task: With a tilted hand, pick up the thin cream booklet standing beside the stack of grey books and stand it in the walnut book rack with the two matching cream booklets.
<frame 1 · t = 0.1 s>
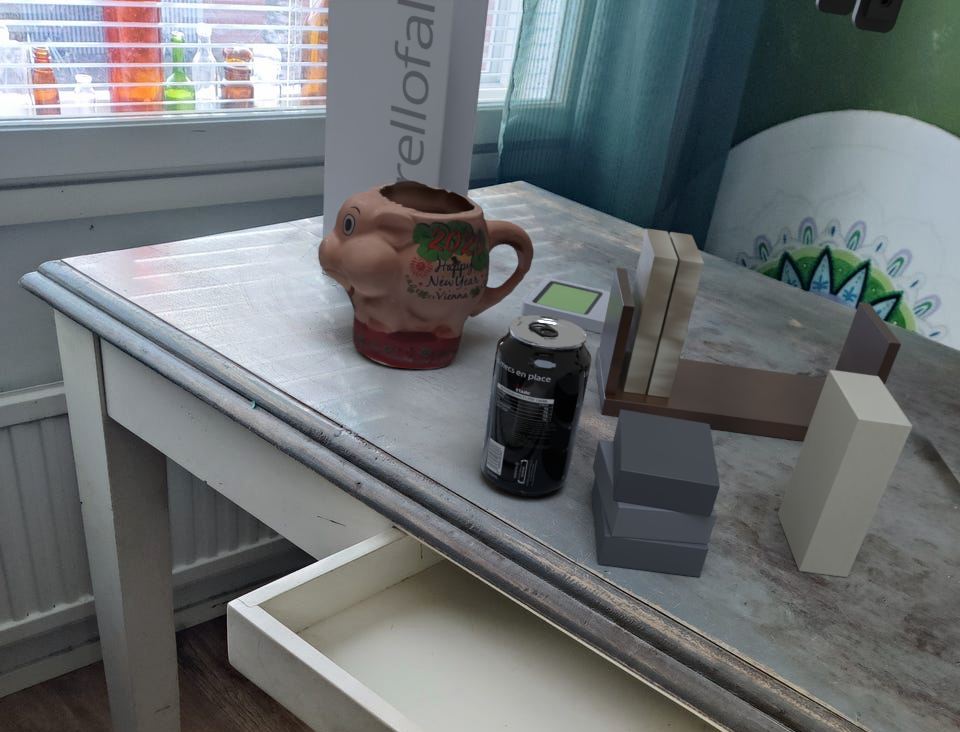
hand: (850, 21, 57), 32 cm above the table, tool pointing down, fingers open, 8 cm apart
handheld gaming console: (597, 317, 108), on the table
beverage can: (521, 482, 77), on the table
book rack: (723, 403, 93), on the table
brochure: (388, 288, 107), on the table
pig-shaped ceramic mug: (420, 351, 94), on the table
grey books: (642, 533, 72), on the table
cream booklet: (810, 544, 74), on the table
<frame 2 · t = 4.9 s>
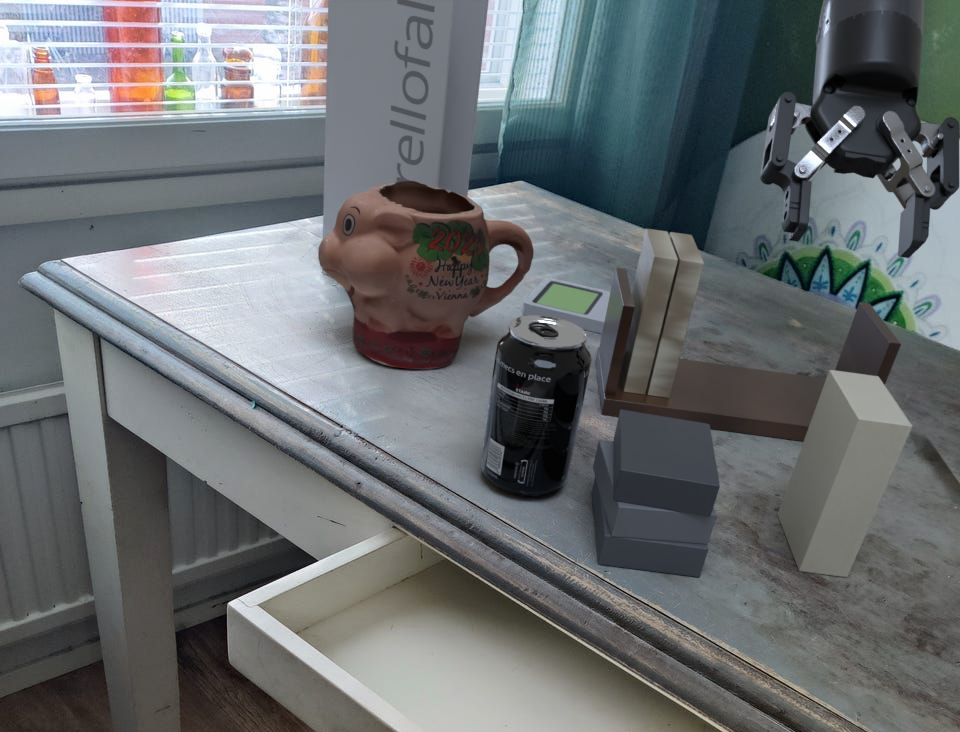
hand: (853, 244, 73), 18 cm above the table, tool tilted 45°, fingers open, 8 cm apart
nothing on the table moved.
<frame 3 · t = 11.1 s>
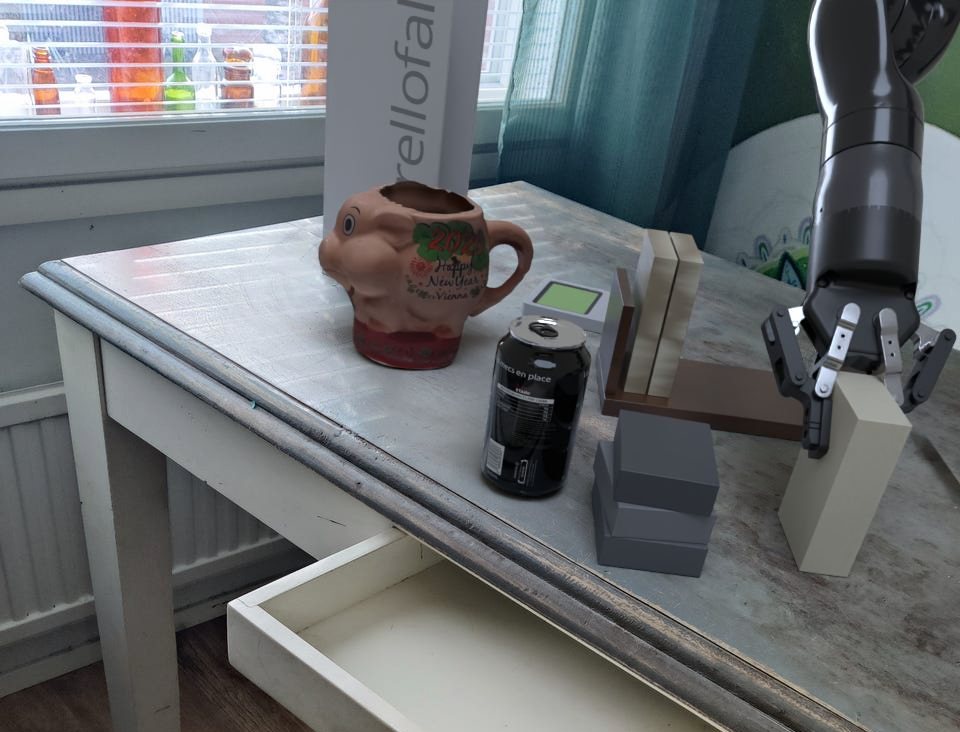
hand: (848, 458, 69), 8 cm above the table, tool tilted 45°, fingers closed on cream booklet, 3 cm apart
cream booklet: (810, 544, 74), on the table, touching gripper
everything else where it was.
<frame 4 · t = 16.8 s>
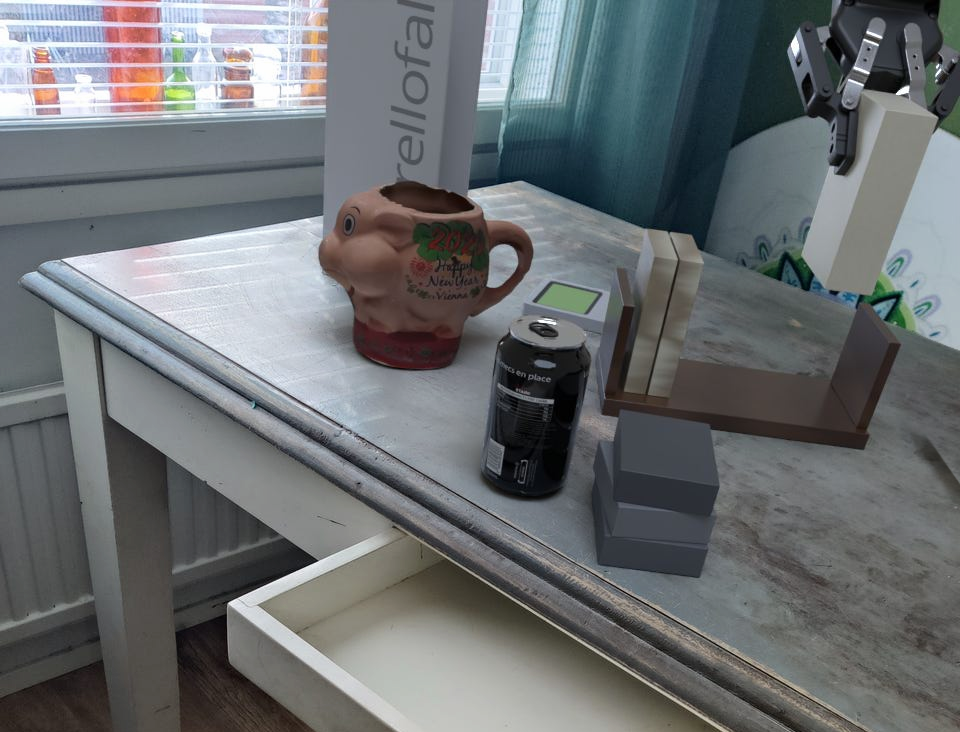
hand: (873, 172, 71), 23 cm above the table, tool tilted 45°, fingers closed on cream booklet, 3 cm apart
cream booklet: (834, 275, 76), point 16 cm above the table, touching gripper
everything else where it was.
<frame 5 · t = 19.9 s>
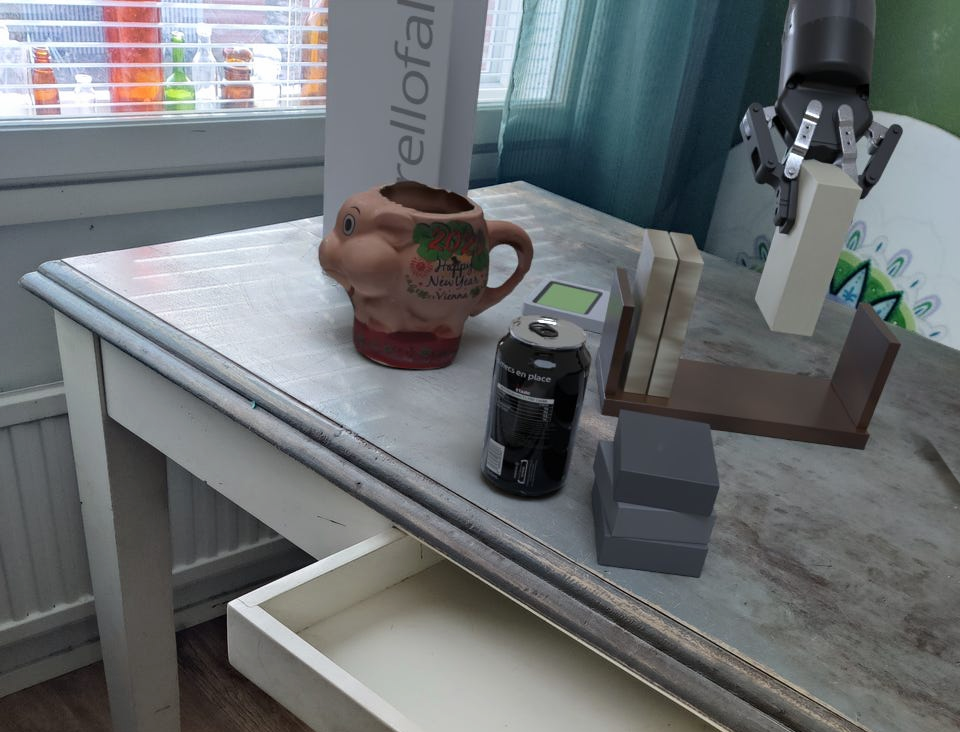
hand: (811, 232, 83), 16 cm above the table, tool tilted 45°, fingers closed on cream booklet, 3 cm apart
cream booklet: (782, 317, 88), point 9 cm above the table, touching gripper
everything else where it was.
when the fingers open (9 cm above the table, at t = 22.3 s): cream booklet stays where it is, resting on book rack.
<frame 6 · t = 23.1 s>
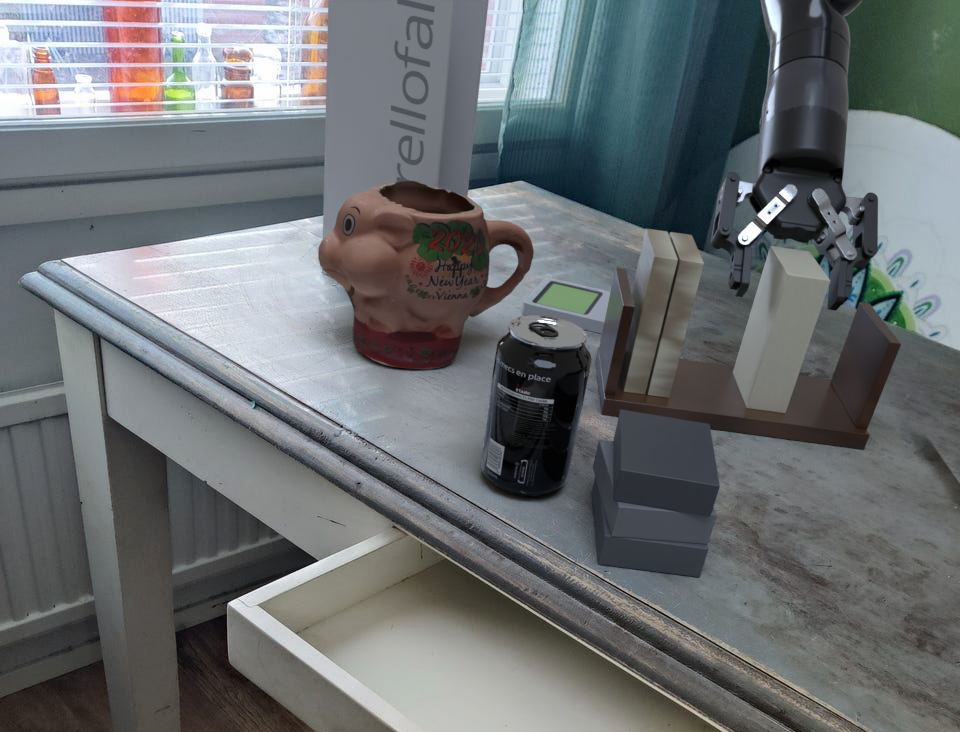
hand: (788, 299, 87), 10 cm above the table, tool tilted 45°, fingers open, 8 cm apart
cream booklet: (758, 392, 92), point 1 cm above the table, touching book rack
everything else where it was.
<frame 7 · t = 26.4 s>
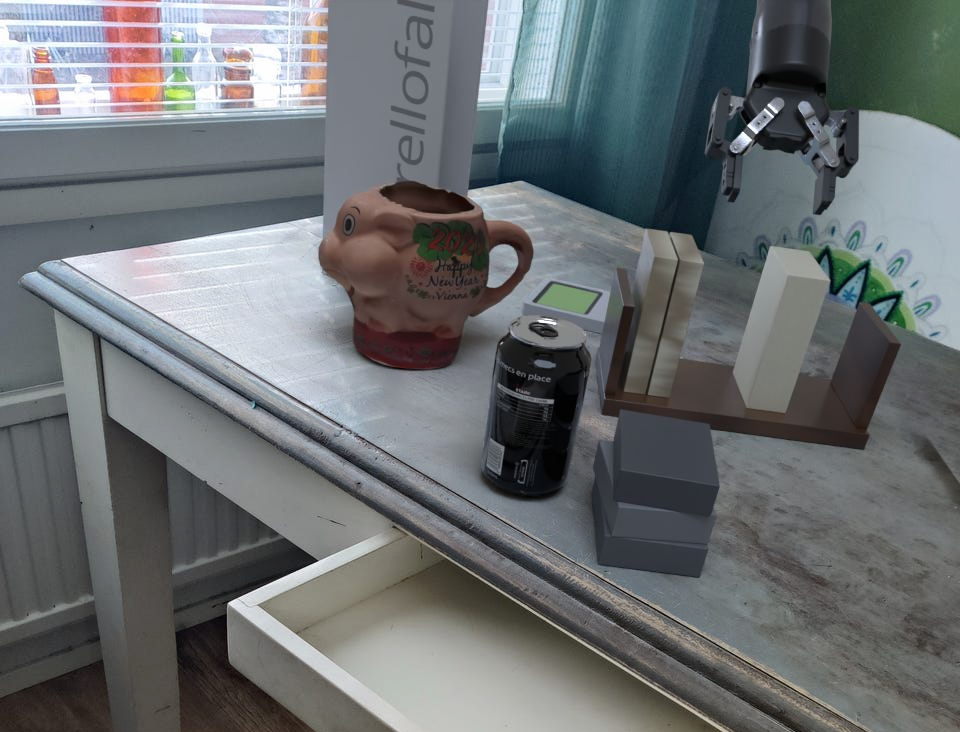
hand: (776, 204, 94), 15 cm above the table, tool tilted 45°, fingers open, 8 cm apart
nothing on the table moved.
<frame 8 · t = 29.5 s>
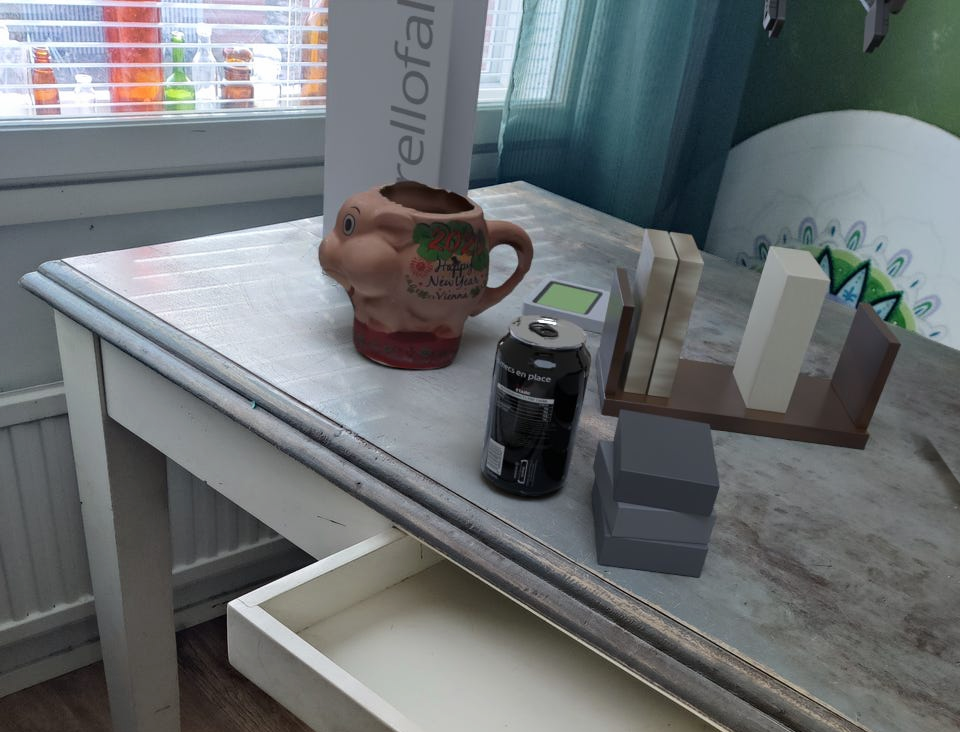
hand: (824, 39, 86), 29 cm above the table, tool tilted 45°, fingers open, 8 cm apart
nothing on the table moved.
at the end: cream booklet inside the target area on the book rack (0.1 cm from its centre), point 1.5 cm above the book rack's base; cream booklet tilted 0°; the gripper is holding nothing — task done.
